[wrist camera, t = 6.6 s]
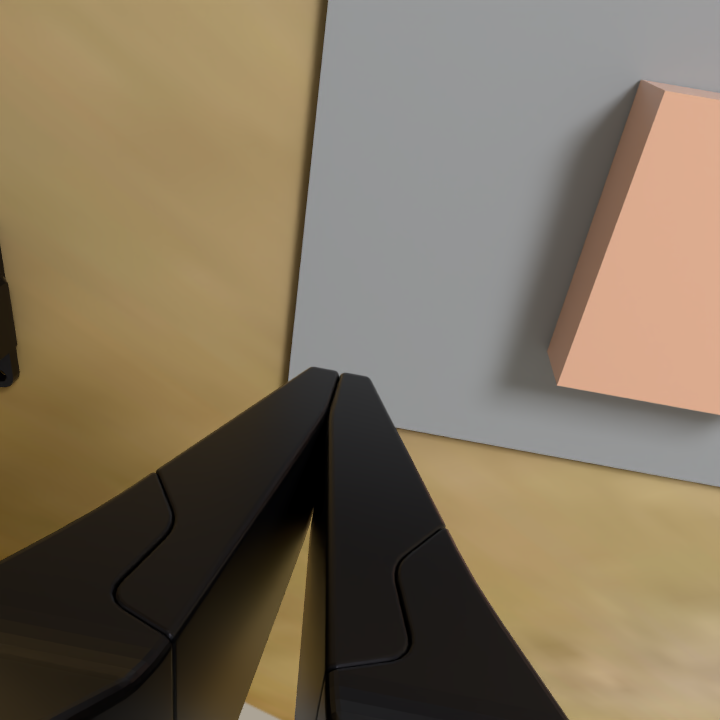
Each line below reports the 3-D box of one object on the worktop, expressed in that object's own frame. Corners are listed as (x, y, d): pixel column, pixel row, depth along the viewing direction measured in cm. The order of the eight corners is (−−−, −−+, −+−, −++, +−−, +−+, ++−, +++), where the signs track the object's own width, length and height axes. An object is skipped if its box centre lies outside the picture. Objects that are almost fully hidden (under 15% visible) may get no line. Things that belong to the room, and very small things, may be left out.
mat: (287, 400, 23) (285, 406, 22) (348, -173, 15) (346, -177, 14) (792, 493, 22) (797, 501, 22) (1145, -40, 14) (1162, -40, 14)
